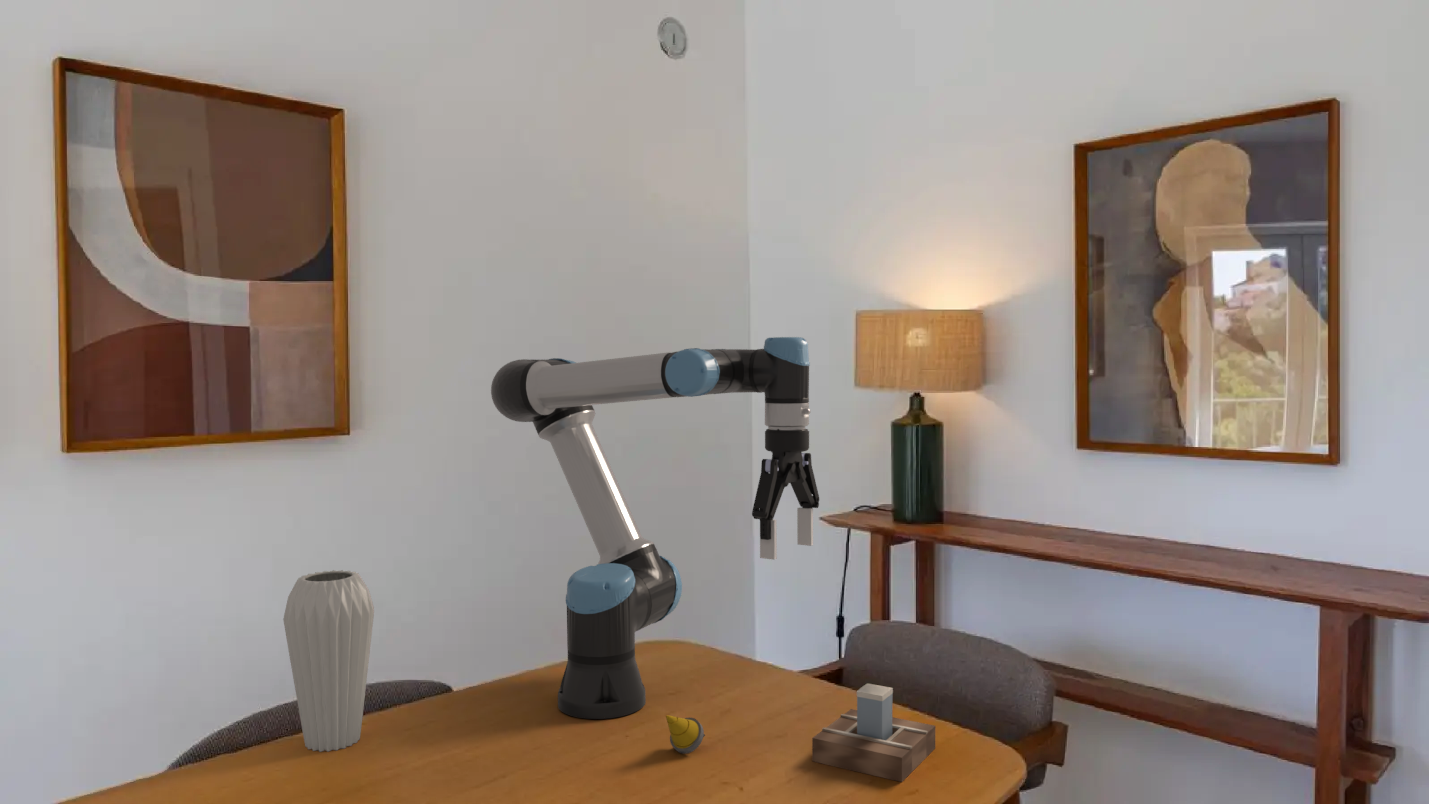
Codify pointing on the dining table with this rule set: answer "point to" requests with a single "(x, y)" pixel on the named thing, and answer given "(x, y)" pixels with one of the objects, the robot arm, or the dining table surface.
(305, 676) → the vase
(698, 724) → the yellow spinning top
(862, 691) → the peg
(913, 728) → the socket block
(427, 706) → the dining table surface
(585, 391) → the robot arm
